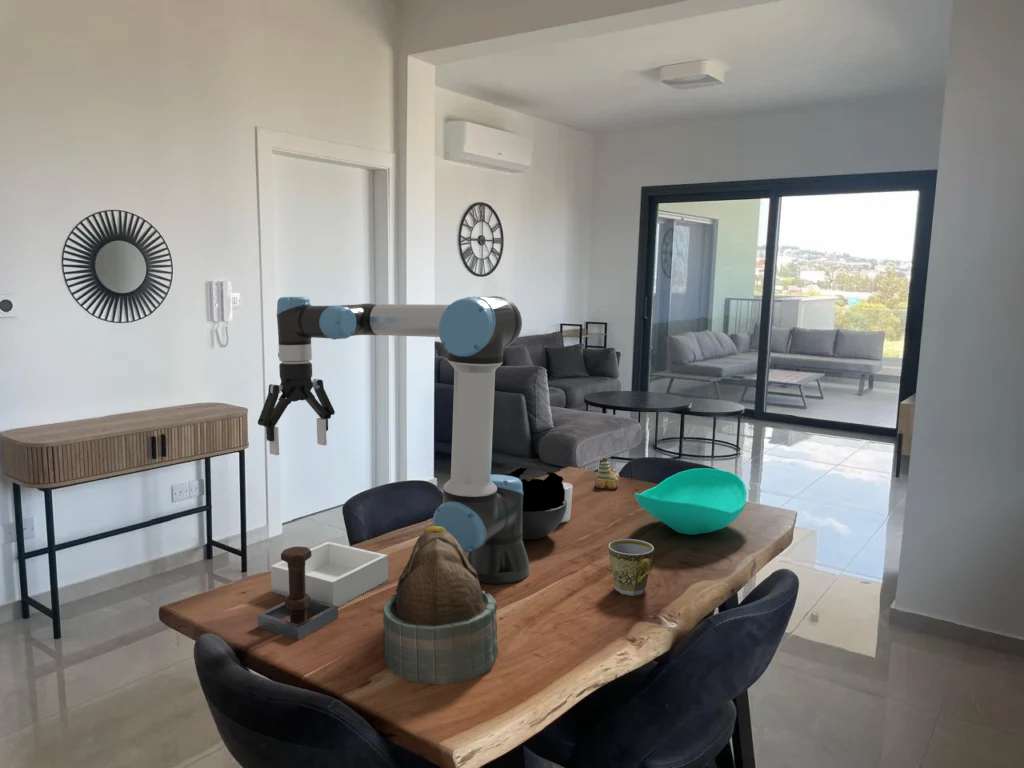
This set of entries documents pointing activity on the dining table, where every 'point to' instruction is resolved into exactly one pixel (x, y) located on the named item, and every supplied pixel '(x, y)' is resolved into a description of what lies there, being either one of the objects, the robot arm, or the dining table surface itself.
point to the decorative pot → (439, 616)
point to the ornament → (606, 476)
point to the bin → (335, 573)
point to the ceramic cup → (630, 565)
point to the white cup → (568, 499)
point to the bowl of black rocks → (541, 504)
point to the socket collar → (298, 631)
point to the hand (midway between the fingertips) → (298, 449)
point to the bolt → (297, 583)
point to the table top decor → (696, 500)
